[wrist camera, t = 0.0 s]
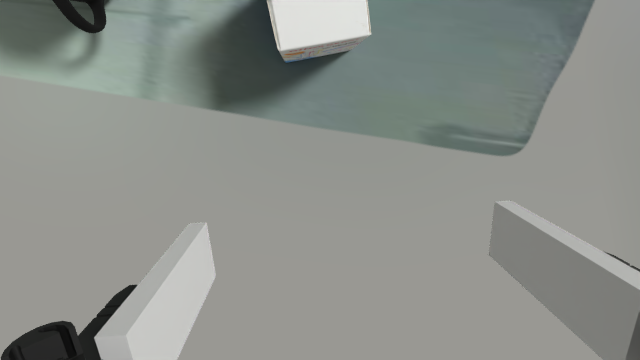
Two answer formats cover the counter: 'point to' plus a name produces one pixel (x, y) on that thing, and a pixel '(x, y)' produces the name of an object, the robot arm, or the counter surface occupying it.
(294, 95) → the counter surface
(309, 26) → the ink box
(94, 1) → the mug
